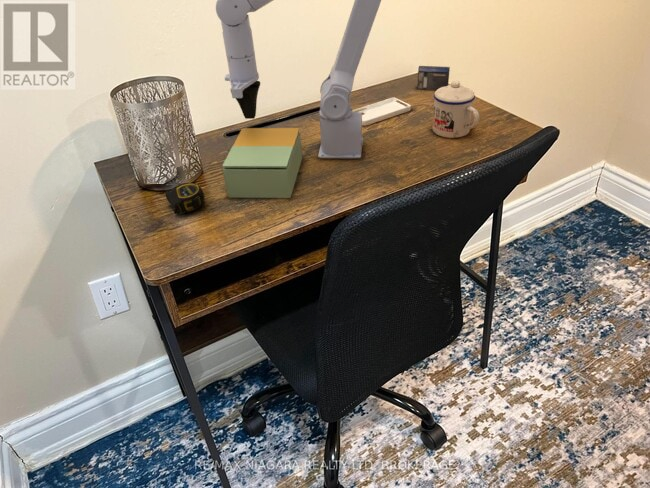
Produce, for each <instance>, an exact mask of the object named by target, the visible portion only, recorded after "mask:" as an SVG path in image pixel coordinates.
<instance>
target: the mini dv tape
mask: <svg viewBox="0 0 650 488" xmlns="http://www.w3.org/2000/svg"><path fill="white" fill-rule="evenodd" d="M450 71H451V67H450V66H432V65H418V70H417V86H416V90H419V91H420V90H422V91H423V90H424V91H436V90H438V89H439V88H441V87H445V86H448V85H449V81H450Z"/></svg>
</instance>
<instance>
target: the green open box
mask: <svg viewBox="0 0 650 488" xmlns="http://www.w3.org/2000/svg"><path fill="white" fill-rule="evenodd" d="M301 138H302V137H301V131H300V130H299V133H298V136H297V139H296V142H295V145H294V148H293V146H233V145H232V147H230V150H229V152H228V154H227V156H226V158H225V160H224V161H223V163H222V165H221V167H222V173H223V179H224V183H225V188H226V193H227V198H246V199H250V198H251V199H291V198H292V194H293V191H294V187H295V184H296V181H297V177H298V175H299V171H300V167H301V165H302V160H303V149H302V139H301ZM257 168H280V169H257Z"/></svg>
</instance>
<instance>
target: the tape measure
mask: <svg viewBox="0 0 650 488" xmlns="http://www.w3.org/2000/svg"><path fill="white" fill-rule="evenodd" d="M164 196H165V199H166V200H167V202H168V203H169V204H170V205H171V207H172V211H173V214H175V215H178V216H181V215H184V214H186V213H189V212H193V211H196V210H198V209H199V208H200V207H201V206H202V205H204V203H205V194H204V191H203V188H202V187H201V186H200V185H199V184H197V183H195V182H184V183H179V184H178V185H175V186H173V187H172V188H169V189H168V190H166V191H165V194H164Z"/></svg>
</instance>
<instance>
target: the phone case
mask: <svg viewBox="0 0 650 488" xmlns="http://www.w3.org/2000/svg"><path fill="white" fill-rule="evenodd" d="M402 103H403V104H402ZM411 109H412V105H411V104H410V103H407V102H406V101H403V100H401V99H399V98H397V97H389V98H387V99H383V100H380V101H376V102H374V103H371V104H368V105H364V106H362V107H358V108H355V109H352V111H353V112H357V113H362V127H366V126H369V125H372V124H376V123H379V122H381V121H384V120H387V119H390V118H393V117H395V116H398V115H402V114H404V113H405V114H406V113H408V112H410V111H411Z"/></svg>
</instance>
